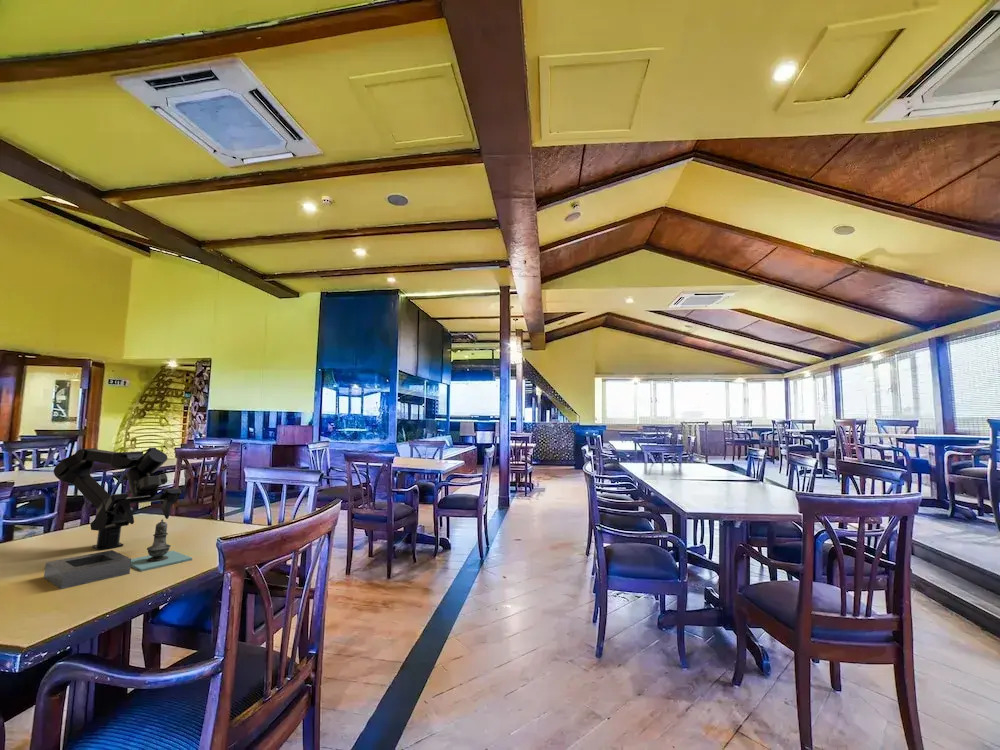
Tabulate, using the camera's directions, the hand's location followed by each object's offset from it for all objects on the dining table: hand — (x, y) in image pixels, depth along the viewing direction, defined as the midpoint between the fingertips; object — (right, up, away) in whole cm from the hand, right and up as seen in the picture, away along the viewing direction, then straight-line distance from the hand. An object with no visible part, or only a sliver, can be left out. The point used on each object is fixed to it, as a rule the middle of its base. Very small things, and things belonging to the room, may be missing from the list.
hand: (150, 520), depth 137 cm
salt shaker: (+7, -10, -5) cm, 13 cm away
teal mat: (+7, -11, -6) cm, 14 cm away
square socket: (-2, -9, -19) cm, 21 cm away
